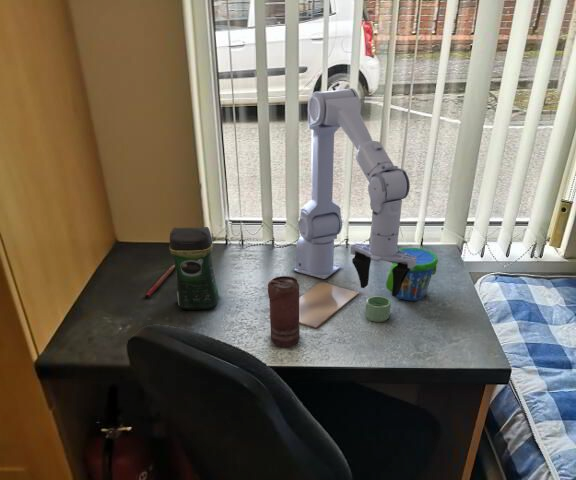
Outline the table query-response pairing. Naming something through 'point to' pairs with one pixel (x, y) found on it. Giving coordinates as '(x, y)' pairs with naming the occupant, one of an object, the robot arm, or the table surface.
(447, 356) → the table surface
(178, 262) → the coffee jar
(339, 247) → the table surface
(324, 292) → the mat
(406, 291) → the snack cup
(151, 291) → the pencil
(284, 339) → the can
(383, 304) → the bowl
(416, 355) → the table surface
